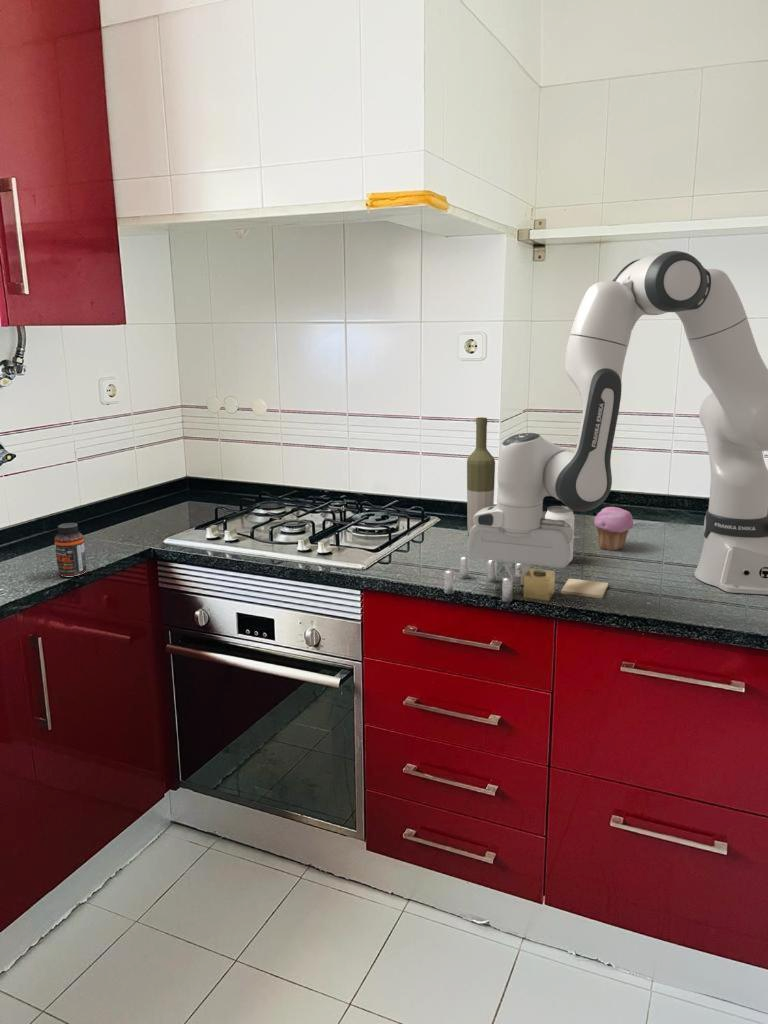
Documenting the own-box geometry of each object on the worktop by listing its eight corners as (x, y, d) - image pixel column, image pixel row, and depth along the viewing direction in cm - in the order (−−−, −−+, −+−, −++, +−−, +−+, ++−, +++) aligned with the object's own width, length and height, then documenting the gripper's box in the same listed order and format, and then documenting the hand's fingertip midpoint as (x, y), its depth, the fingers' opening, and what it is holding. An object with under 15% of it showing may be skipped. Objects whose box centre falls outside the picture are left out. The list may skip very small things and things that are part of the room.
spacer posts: (525, 583, 163) (526, 562, 162) (510, 602, 152) (511, 580, 151) (461, 575, 169) (461, 555, 168) (442, 593, 158) (442, 572, 157)
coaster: (608, 585, 161) (608, 582, 161) (602, 598, 154) (602, 595, 154) (568, 581, 164) (568, 578, 164) (561, 593, 157) (561, 590, 157)
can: (537, 558, 180) (539, 507, 177) (562, 554, 182) (564, 504, 179) (553, 566, 174) (555, 513, 171) (578, 562, 176) (580, 510, 173)
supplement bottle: (53, 578, 171) (47, 528, 168) (65, 570, 176) (59, 521, 174) (80, 578, 170) (74, 528, 168) (91, 570, 176) (86, 521, 173)
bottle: (469, 532, 202) (470, 415, 194) (496, 534, 199) (498, 416, 192) (462, 540, 195) (464, 419, 188) (490, 542, 193) (493, 420, 186)
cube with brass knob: (554, 592, 157) (555, 569, 156) (548, 600, 153) (549, 577, 152) (529, 589, 159) (530, 566, 158) (523, 597, 155) (524, 574, 154)
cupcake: (603, 541, 192) (605, 501, 190) (637, 547, 187) (640, 506, 185) (586, 549, 186) (588, 508, 183) (621, 555, 180) (624, 513, 178)
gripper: (575, 517, 153) (572, 584, 156) (475, 508, 161) (474, 572, 164) (569, 525, 147) (566, 594, 151) (465, 515, 155) (464, 581, 159)
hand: (517, 583), depth 158 cm, fingers closed
